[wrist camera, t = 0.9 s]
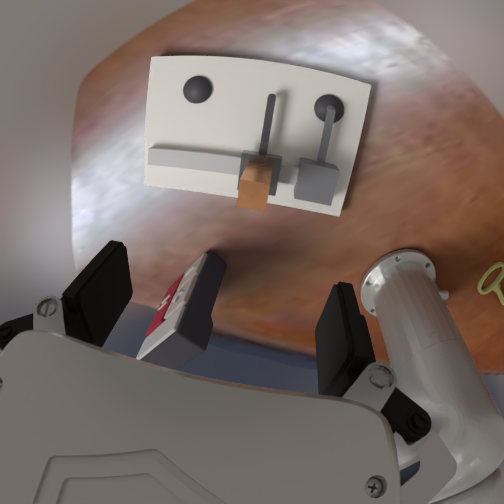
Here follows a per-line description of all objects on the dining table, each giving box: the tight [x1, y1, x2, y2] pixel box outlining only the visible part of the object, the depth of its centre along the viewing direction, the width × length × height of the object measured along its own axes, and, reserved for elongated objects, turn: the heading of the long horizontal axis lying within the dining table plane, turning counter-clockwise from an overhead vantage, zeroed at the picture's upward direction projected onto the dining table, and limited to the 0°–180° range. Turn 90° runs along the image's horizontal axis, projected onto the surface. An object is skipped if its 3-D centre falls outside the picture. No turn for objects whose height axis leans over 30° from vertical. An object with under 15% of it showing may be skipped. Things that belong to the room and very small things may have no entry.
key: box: [477, 262, 504, 306], centre depth 35 cm, size 7×12×2 cm, turn 73°
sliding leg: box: [236, 94, 282, 211], centre depth 24 cm, size 4×10×8 cm, turn 172°
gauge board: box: [144, 56, 371, 217], centre depth 27 cm, size 24×16×4 cm, turn 82°
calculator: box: [136, 252, 226, 370], centre depth 34 cm, size 11×4×15 cm, turn 137°
